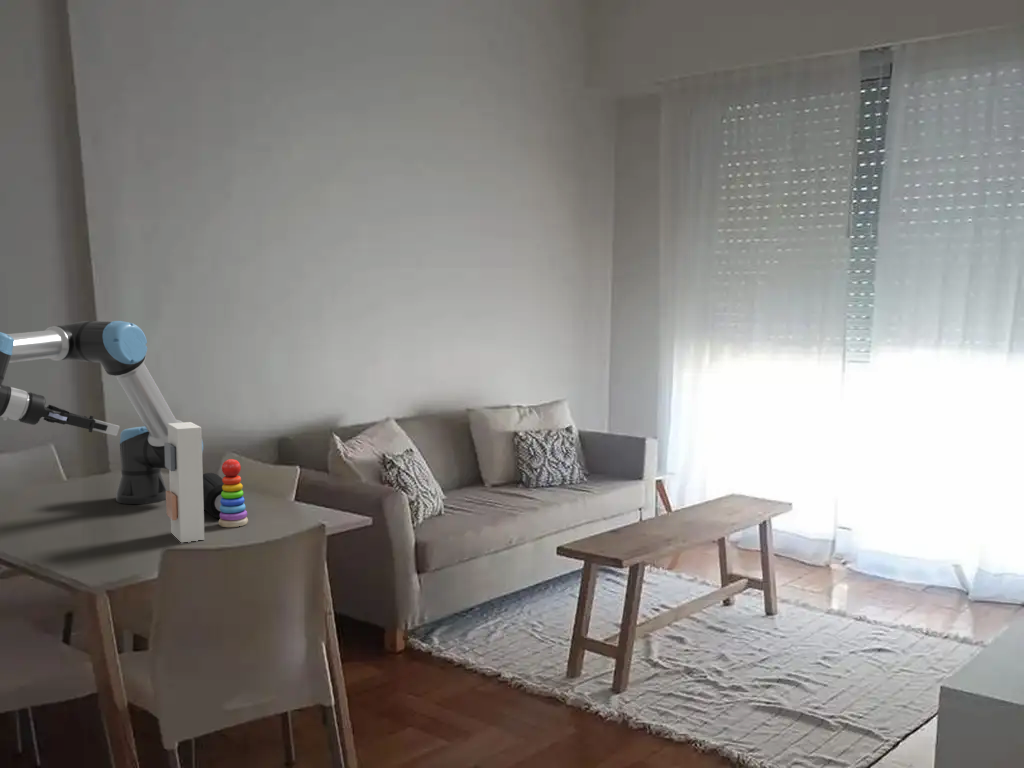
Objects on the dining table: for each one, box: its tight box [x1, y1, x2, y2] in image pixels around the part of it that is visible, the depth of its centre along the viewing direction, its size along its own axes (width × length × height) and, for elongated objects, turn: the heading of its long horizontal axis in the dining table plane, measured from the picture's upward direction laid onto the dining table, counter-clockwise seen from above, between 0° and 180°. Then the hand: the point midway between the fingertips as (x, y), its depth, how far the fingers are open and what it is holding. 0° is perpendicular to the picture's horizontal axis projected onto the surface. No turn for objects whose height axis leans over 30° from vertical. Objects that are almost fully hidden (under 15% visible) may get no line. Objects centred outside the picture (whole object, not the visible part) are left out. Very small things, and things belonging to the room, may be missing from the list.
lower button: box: [165, 490, 178, 520], centre depth 245 cm, size 8×7×6 cm
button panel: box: [168, 421, 205, 543], centre depth 245 cm, size 12×6×30 cm, turn 32°
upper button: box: [164, 443, 177, 471], centre depth 244 cm, size 8×7×6 cm
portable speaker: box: [203, 472, 224, 519], centre depth 276 cm, size 26×10×10 cm, turn 30°
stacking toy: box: [218, 458, 249, 528], centre depth 259 cm, size 8×8×19 cm
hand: (117, 430), depth 242 cm, fingers closed
